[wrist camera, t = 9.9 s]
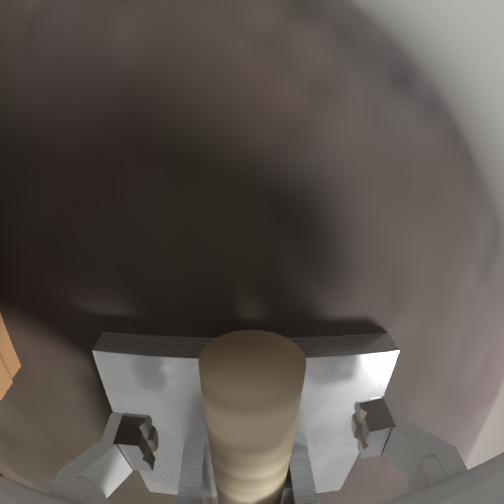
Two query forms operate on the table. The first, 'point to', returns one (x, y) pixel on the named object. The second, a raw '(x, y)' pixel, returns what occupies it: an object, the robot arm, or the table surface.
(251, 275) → the table surface
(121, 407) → the block
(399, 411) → the robot arm
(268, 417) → the axle
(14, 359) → the orange grooved block
